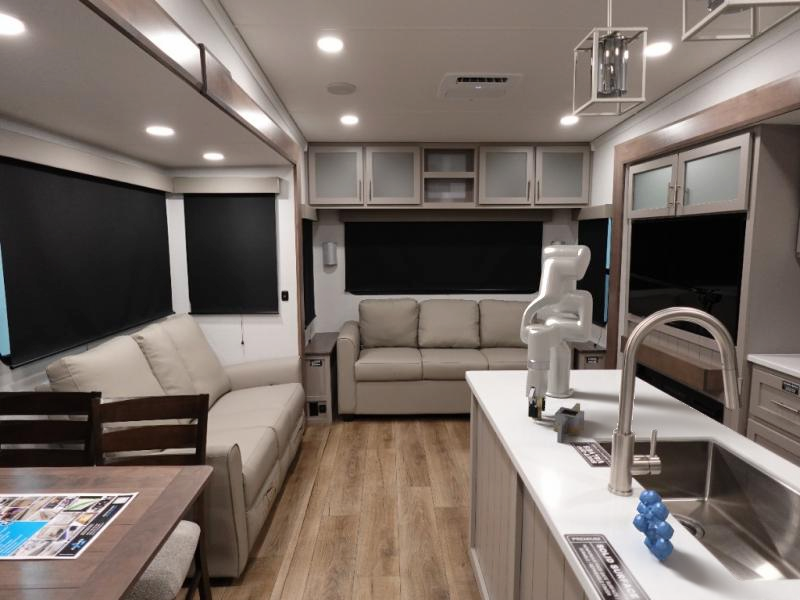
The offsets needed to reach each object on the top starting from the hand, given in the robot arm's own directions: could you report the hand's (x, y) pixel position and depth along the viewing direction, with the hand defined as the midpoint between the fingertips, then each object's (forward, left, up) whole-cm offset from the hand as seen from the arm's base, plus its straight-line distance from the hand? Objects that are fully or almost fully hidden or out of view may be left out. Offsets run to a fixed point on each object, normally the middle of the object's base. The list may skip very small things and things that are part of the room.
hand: (536, 413), depth 165 cm
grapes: (+58, +41, -2) cm, 71 cm away
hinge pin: (0, 0, -2) cm, 2 cm away
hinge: (+4, +12, -2) cm, 13 cm away
